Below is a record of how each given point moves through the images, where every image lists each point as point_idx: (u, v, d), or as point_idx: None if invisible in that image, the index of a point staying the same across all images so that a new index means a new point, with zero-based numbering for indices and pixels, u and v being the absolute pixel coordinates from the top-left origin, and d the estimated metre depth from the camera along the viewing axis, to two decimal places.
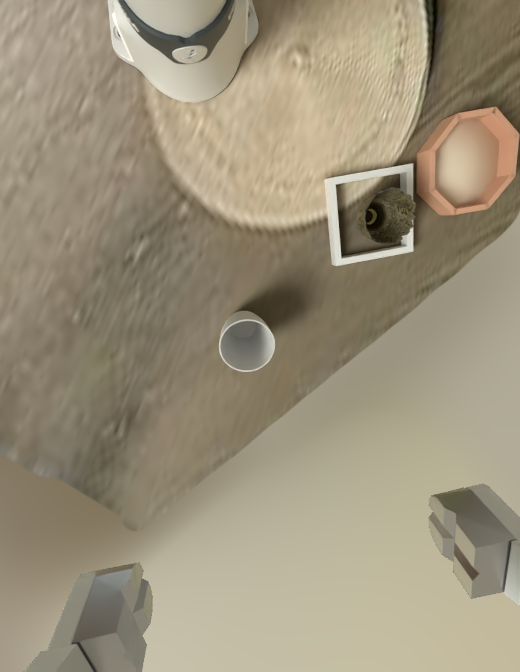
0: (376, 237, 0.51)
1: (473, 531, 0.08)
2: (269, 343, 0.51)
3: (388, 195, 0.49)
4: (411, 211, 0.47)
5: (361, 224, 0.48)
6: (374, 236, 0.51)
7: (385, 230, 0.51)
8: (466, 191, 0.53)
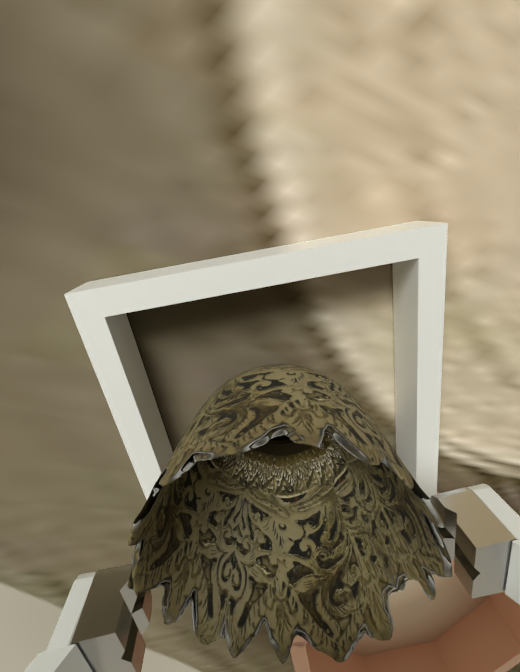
0: None
1: (474, 531, 0.08)
2: None
3: (364, 484, 0.12)
4: (305, 619, 0.10)
5: (244, 404, 0.08)
6: None
7: (228, 474, 0.13)
8: None
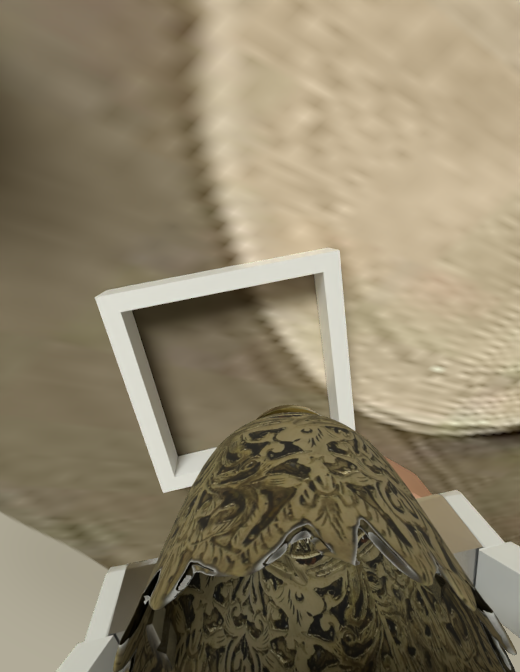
0: None
1: None
2: None
3: None
4: None
5: (253, 482, 0.07)
6: None
7: None
8: None
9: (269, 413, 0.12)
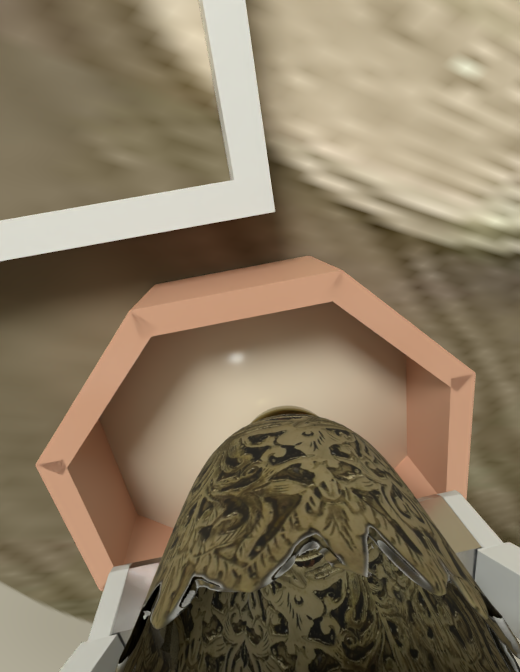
0: None
1: None
2: None
3: None
4: None
5: (256, 489, 0.07)
6: None
7: None
8: (178, 477, 0.14)
9: (266, 414, 0.12)
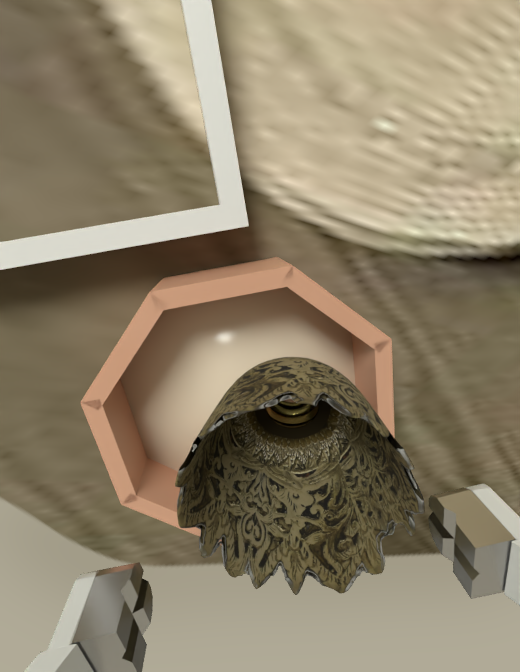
0: (222, 432, 0.14)
1: (473, 531, 0.08)
2: None
3: (363, 456, 0.14)
4: (314, 563, 0.12)
5: (260, 382, 0.11)
6: (227, 423, 0.15)
7: (249, 453, 0.16)
8: (179, 427, 0.18)
9: None
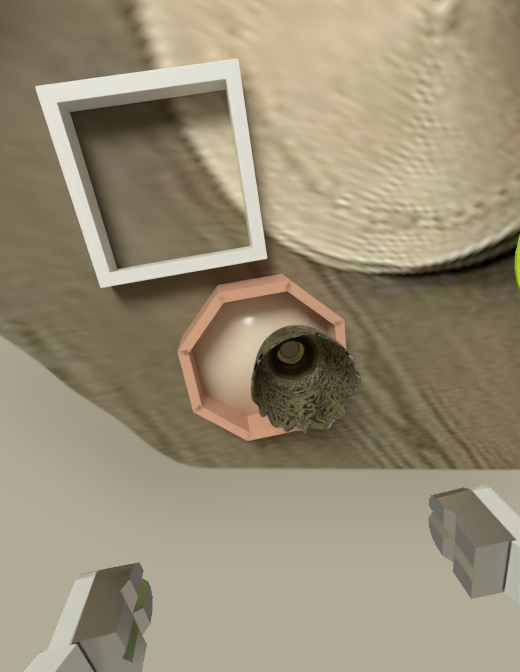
0: (258, 367, 0.26)
1: (473, 531, 0.08)
2: None
3: (332, 376, 0.27)
4: (312, 423, 0.24)
5: (286, 332, 0.23)
6: (259, 364, 0.27)
7: (270, 382, 0.28)
8: (223, 373, 0.30)
9: None
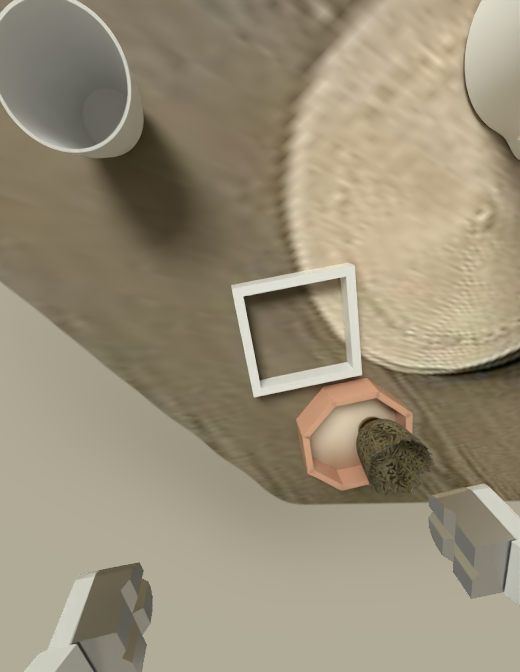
0: None
1: (473, 531, 0.08)
2: None
3: (406, 451, 0.40)
4: (398, 486, 0.38)
5: (386, 433, 0.36)
6: None
7: None
8: (323, 443, 0.43)
9: (367, 419, 0.42)
